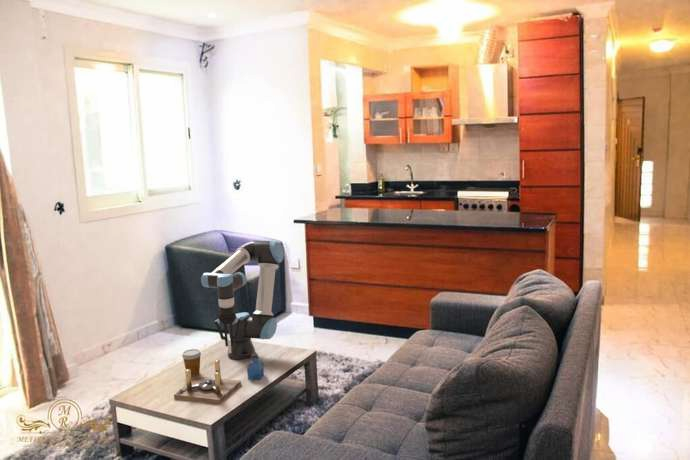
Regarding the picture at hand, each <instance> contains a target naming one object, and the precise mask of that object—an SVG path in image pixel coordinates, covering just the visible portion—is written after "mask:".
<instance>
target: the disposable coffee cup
mask: <svg viewBox="0 0 690 460" xmlns="http://www.w3.org/2000/svg"><path fill="white" fill-rule="evenodd" d="M201 356H202V353H201V350H199V349H197V348H194V349H193V348H192V349H187V350H184V351H183V352H182V355H181V358H182V359H183V364H184V367H185V370H187V369H190V370H191V378H192V377H193V378H194V377H198V376H199V375H200V374H201V373H200V372H201V371H200V369H201Z"/></svg>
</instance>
